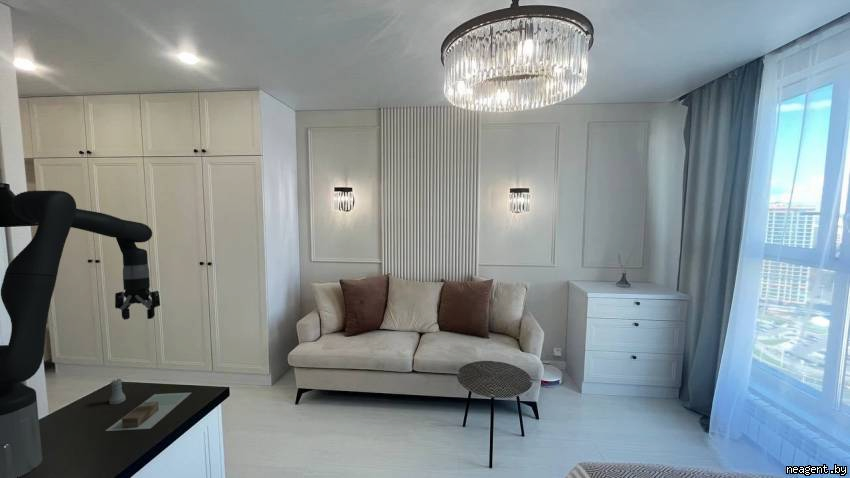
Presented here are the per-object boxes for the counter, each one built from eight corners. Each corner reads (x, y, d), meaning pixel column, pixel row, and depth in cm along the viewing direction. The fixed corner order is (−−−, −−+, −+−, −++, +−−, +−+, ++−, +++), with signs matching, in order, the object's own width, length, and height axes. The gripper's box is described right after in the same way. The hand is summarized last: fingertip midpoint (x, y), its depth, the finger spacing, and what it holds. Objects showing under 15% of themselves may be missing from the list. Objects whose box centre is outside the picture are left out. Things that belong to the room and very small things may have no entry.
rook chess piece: (113, 399, 120) (112, 378, 119) (128, 397, 121) (127, 376, 121) (106, 406, 116) (104, 384, 115) (122, 404, 117) (120, 382, 116)
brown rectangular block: (138, 427, 104) (137, 417, 103) (122, 428, 103) (122, 418, 103) (158, 410, 113) (158, 401, 112) (144, 411, 112) (143, 402, 112)
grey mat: (150, 429, 103) (150, 428, 103) (105, 432, 102) (105, 430, 102) (191, 393, 124) (191, 392, 124) (154, 395, 123) (154, 394, 123)
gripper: (107, 278, 121) (110, 322, 122) (149, 277, 123) (151, 321, 123) (124, 275, 129) (126, 316, 130) (163, 274, 130) (165, 315, 131)
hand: (138, 318), depth 127 cm, fingers open, 8 cm apart
